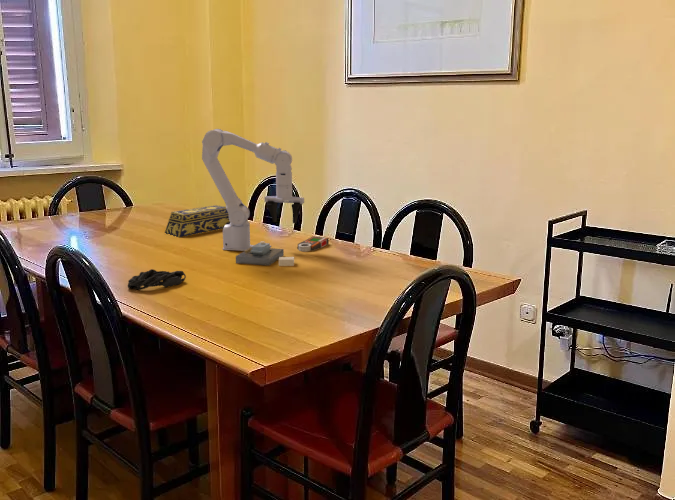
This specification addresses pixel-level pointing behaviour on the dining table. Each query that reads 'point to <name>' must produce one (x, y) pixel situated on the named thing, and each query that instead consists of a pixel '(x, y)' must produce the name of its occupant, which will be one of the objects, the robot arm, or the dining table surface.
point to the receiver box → (286, 261)
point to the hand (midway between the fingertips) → (284, 222)
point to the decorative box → (197, 220)
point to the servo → (261, 248)
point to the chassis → (259, 257)
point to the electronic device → (313, 244)
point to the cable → (156, 279)
